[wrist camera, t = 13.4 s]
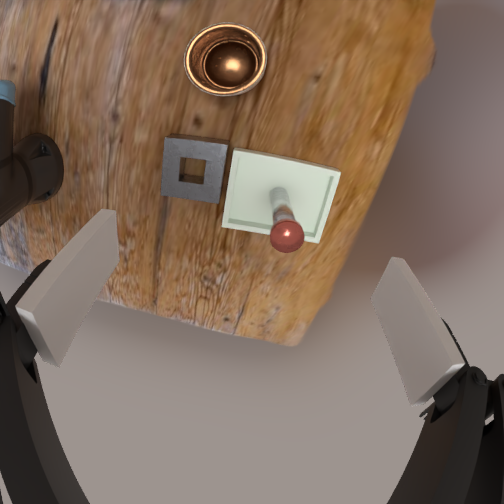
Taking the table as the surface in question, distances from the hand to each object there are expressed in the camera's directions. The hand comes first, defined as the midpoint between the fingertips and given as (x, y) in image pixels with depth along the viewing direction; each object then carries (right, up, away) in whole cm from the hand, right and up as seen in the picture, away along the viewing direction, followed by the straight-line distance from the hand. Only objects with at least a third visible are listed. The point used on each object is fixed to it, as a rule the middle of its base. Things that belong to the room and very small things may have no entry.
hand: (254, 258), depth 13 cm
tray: (+5, +10, +37) cm, 39 cm away
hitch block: (-10, +15, +34) cm, 38 cm away
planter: (-3, +30, +25) cm, 39 cm away
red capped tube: (+5, +10, +36) cm, 38 cm away
